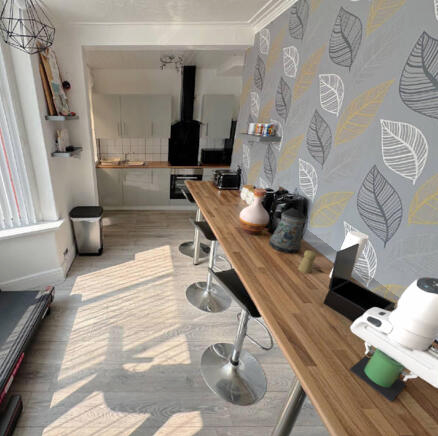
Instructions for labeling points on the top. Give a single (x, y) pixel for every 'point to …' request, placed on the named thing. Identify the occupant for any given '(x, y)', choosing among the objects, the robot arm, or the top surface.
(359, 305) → the bin
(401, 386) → the mat
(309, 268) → the cork
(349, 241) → the cylindrical container
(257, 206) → the white vase
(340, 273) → the bin lid
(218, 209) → the top surface
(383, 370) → the pot
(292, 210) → the beer stein
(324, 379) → the top surface
